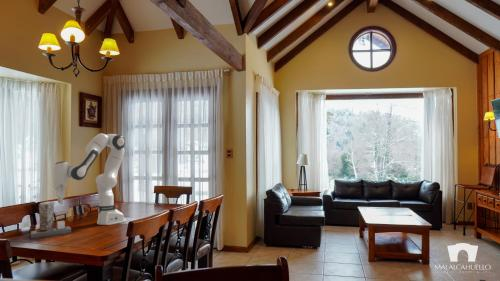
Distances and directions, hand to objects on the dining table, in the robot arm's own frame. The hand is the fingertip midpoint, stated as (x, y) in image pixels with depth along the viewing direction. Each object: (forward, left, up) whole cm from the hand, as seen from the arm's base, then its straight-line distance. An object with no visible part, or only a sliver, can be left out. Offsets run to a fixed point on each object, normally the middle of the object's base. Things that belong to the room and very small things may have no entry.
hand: (60, 203), depth 251 cm
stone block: (+7, -19, -21) cm, 30 cm away
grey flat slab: (+6, +1, -21) cm, 22 cm away
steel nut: (0, +1, -21) cm, 21 cm away
